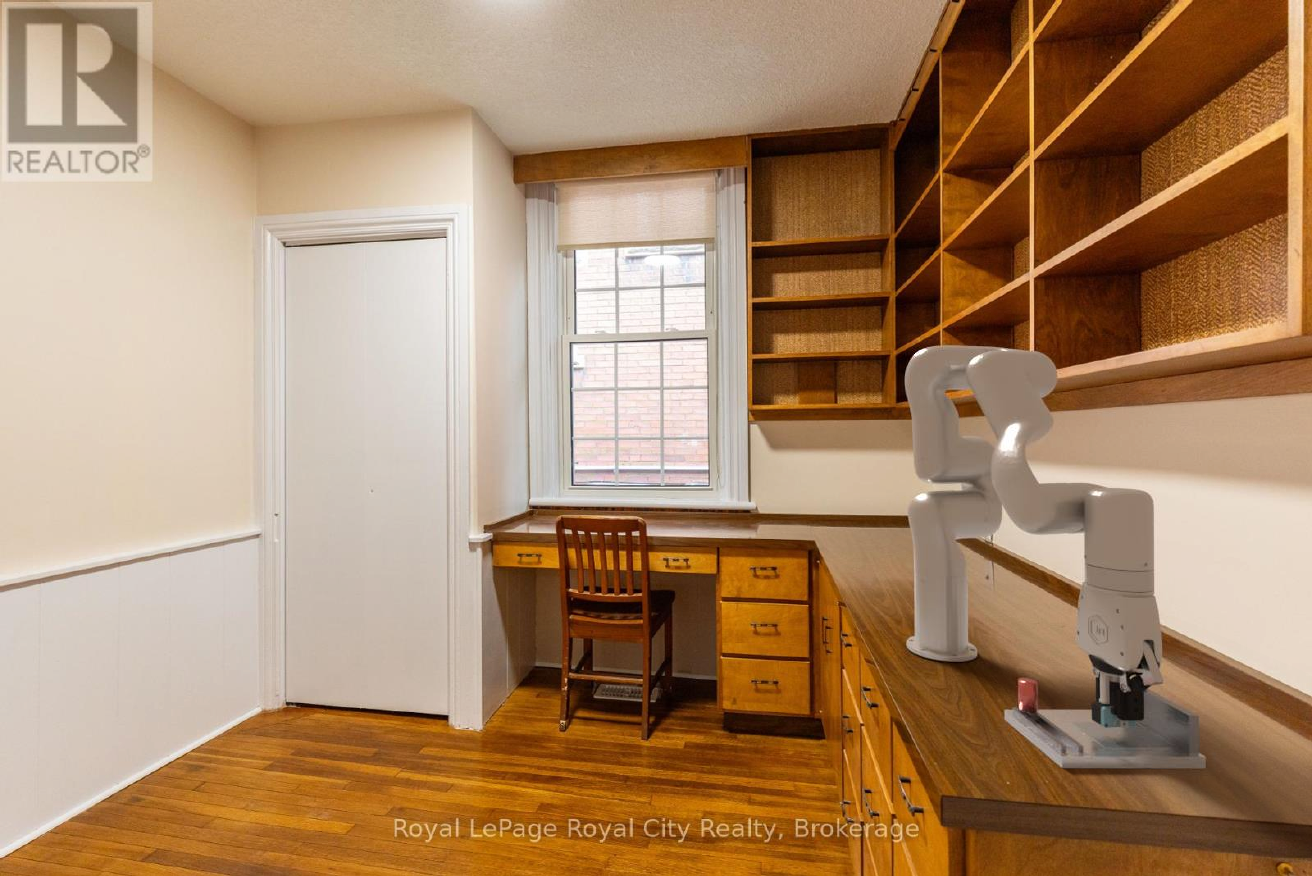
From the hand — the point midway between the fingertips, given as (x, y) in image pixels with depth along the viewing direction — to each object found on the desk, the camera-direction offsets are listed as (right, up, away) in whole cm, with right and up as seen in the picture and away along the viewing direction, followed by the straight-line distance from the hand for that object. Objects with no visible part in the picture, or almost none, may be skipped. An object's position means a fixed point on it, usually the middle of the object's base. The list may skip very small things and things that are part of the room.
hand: (1119, 711), depth 81 cm
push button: (0, -2, 0) cm, 2 cm away
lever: (-9, -3, +5) cm, 11 cm away
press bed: (-2, -5, +1) cm, 5 cm away
